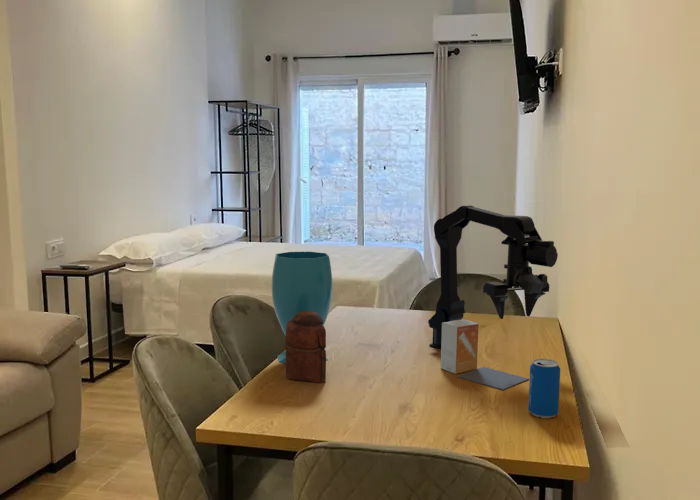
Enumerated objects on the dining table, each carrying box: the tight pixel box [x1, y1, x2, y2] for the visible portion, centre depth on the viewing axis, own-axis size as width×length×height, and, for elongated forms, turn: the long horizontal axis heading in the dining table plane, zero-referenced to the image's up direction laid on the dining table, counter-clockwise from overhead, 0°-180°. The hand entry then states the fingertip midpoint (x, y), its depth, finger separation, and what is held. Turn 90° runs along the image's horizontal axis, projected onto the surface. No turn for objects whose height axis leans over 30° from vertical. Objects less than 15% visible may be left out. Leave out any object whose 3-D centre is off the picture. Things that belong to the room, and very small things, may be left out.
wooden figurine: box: [285, 311, 327, 384], centre depth 169 cm, size 12×6×18 cm, turn 73°
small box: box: [440, 318, 480, 375], centre depth 179 cm, size 8×6×13 cm
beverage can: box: [527, 358, 561, 419], centre depth 146 cm, size 6×6×12 cm
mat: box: [457, 366, 530, 391], centre depth 172 cm, size 14×12×1 cm
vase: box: [271, 251, 333, 365], centre depth 187 cm, size 17×17×30 cm
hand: (514, 317), depth 182 cm, fingers open, 9 cm apart
